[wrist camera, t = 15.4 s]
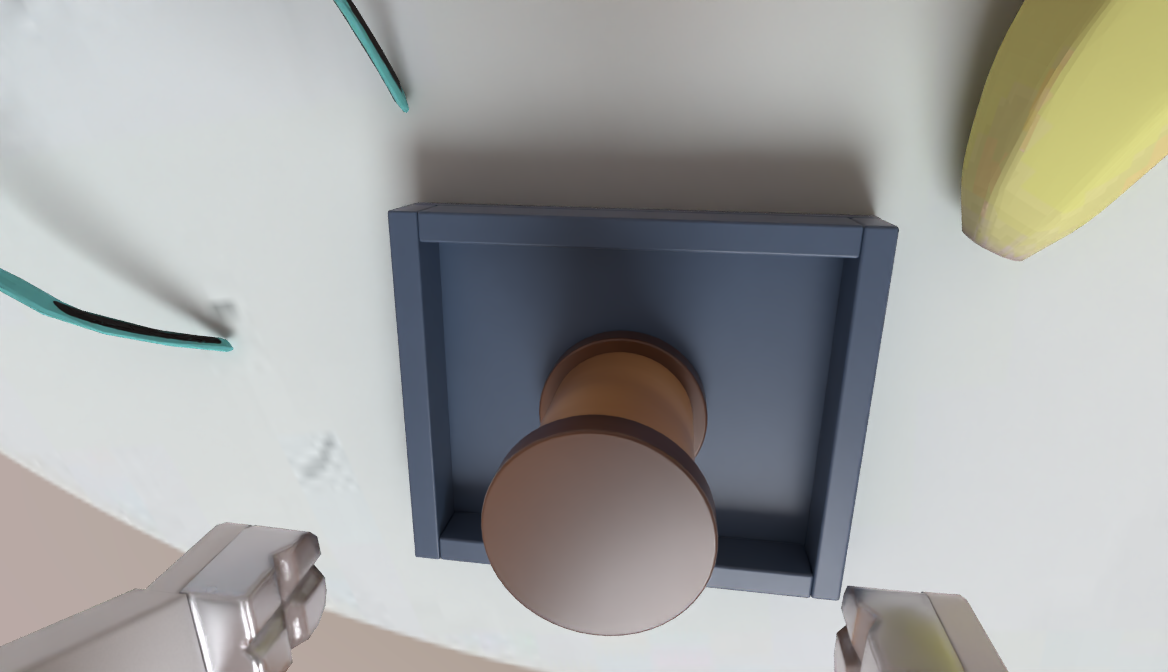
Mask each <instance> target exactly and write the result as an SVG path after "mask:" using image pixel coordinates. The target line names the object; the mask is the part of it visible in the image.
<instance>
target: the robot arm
mask: <svg viewBox="0 0 1168 672" xmlns="http://www.w3.org/2000/svg"><path fill="white" fill-rule="evenodd" d="M320 555H321V552H320V547H319V543H318V538H317V536H315V535H314V534H312V533H311V532H305V531H297V530H289V529H281V528H273V527H265V526H257V525H254V526H252V525H245V524H237V523H228V522H226V523H223V524H219V525H216V526H215V527H214V528H213V529H212V530H211V531H209V532H208V533H207V534H206V535H205V536H204V537H203V538H202V539H201V540H199V541H198V542H197V543H196V544H195V545H194V546H193V547H192V548H190V549H189V550H188V551H187V552H186V553H185V554H184V555H183V556H182V557H180V558H179V559H178V560H177V561H176V562H175V563H174V564H173V565H171V566H170V567H169V568H168V569H167V570H166V571H165V572H164V573H163V574H161V575H160V576H159V577H158V578H157V579H156V580H155V581H154V582H152V583H151V584H150V585H149V586H148V587H147V588H146V589H133V590H131V591H128V592H126V593H124V594H121V595H119V596H117V597H115V598H112V599H110V600H108V601H105V602H103V603H101V604H99V605H96V606H94V607H91V608H89V609H87V610H84V611H82V612H80V613H78V614H75V615H73V616H70V617H68V618H66V619H64V620H61V621H59V622H56V623H54V624H52V625H49V626H47V627H45V628H42V629H40V630H38V631H35V632H33V633H31V634H28V635H26V636H24V637H21V638H19V639H17V640H14V641H12V642H10V643H7V644H5V645H3V646H0V672H286V671H287V669H288V668H289V667H290V665H291V664H292V653H291V649H293V648H294V647H296V646H298V645H299V644H301V643H303V642H304V641H306V640H308V639H309V638H310V636H311V635H312V633H313V632H314V630H315V629H316V627H317V626H318V624H319V621H320V619H321V616H322V613H323V610H324V607H325V603H326V583H325V577H324V576H323V575H322V573H321V572H320V571H319V570H318V569H317V568H316V566H315V565H314V563H315V562H316V560H317V559H318V557H319V556H320ZM841 609H842V612H843V616H844V619H845V622H846V626H844V627H843V628H842V629H841V630H840V631H838V632H837V636H836V643H835V650H834V672H1008V670H1007V668H1006V667H1005V665H1004V663H1003V661H1002V660H1001V658H1000V656H999V655H998V653H997V651H996V649H995V648H994V646H993V644H992V643H991V641H990V639H989V637H988V636H987V634H986V632H985V630H984V629H983V627H982V625H981V624H980V622H979V620H978V618H977V617H976V615H975V613H974V612H973V610H972V608H971V606H970V605H969V603H968V601H967V600H966V599H965V598H964V597H962V596H961V595H958V594H944V593H931V592H921V593H918V592H909V591H898V590H887V589H877V588H866V587H855V586H847V588H846V590H845V593H844V596H843V601H842V607H841Z"/></svg>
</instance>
